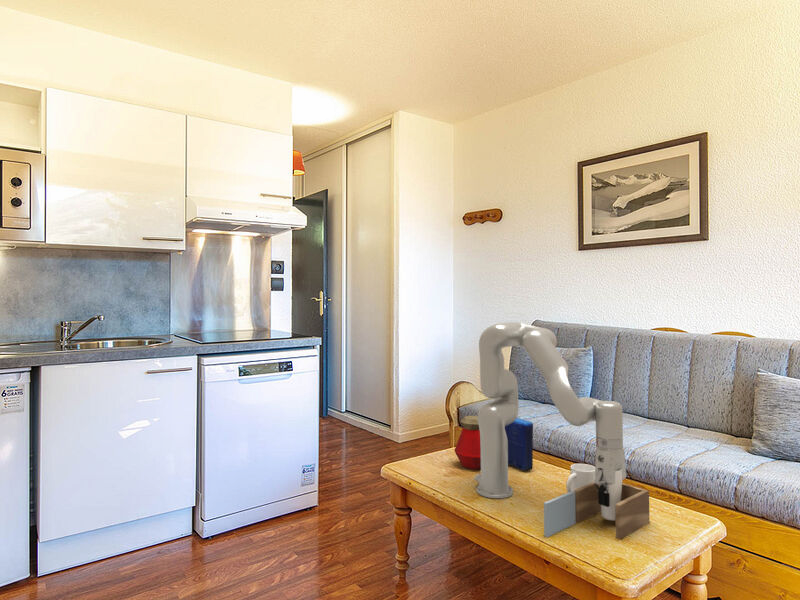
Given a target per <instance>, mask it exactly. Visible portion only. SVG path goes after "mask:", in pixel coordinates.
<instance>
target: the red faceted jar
mask: <svg viewBox="0 0 800 600" xmlns="http://www.w3.org/2000/svg"><path fill="white" fill-rule="evenodd" d="M460 423H461V425H462V429H461V432H460V434H459V437H458V440H457V442H456V445H455V446H454V447H455V448H454V453H455V455H456V457H457V458H458V461H459V463H460V465H461V466H462V467H463V468H465V469H468V470H472V471H479V470H480V471H481V447H480V430H479V424H478V415H477V416H476V415H466V416H464V417H463V418H462V419H461V420H460Z"/></svg>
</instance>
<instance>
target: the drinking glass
mask: <svg viewBox="0 0 800 600" xmlns="http://www.w3.org/2000/svg"><path fill="white" fill-rule="evenodd" d="M601 481H604V482H605V479H604V477H603V478H602V480H601ZM622 483H623V481H622V469H621V470H619V471H615V483H614V484H612V485H609V489H608V493H609V504H610V506H609V507H606V506H603V505H601V512H600V515H601V517H602V518H604V519H605V520H608V521H616V517H615V504H617V503H619V502H621V494H622ZM601 484H602V485H603V486H604V488H605V485H606V484H604V483H601Z"/></svg>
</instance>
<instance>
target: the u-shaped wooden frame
mask: <svg viewBox="0 0 800 600" xmlns="http://www.w3.org/2000/svg"><path fill="white" fill-rule="evenodd" d="M574 492H575V521H576V523H577V524H578V523H581V522H583V521H585V520H586V518H587V519H588V517H589V518H591V517H593V516H594V514H595V515H597V514H599V513H601V505H600V504H599V502H598V491H597V488H596V485H595V484H594V482H593V483H590V484H588V485H585V486H583V487H580V488H578V489H576V490H574ZM598 512H599V513H598ZM596 513H597V514H596ZM592 515H593V516H592ZM590 516H591V517H590ZM615 517H616V520H615V539H618V540H622V539H623V538H625V537H627V536H628V535H630V534H632V533H634V532H636V531H637V530H639V529H640V528H643V527H645V526H646V525H647V524H649V523H650V490H648V489H644V488H641V487H637V486H635V485H631V484H627V483H624V482H622V500H621V502H619V503H617V504H615ZM584 519H585V520H584Z"/></svg>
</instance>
